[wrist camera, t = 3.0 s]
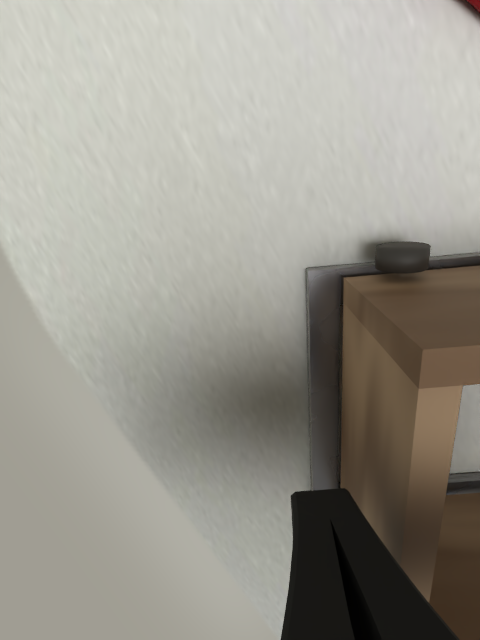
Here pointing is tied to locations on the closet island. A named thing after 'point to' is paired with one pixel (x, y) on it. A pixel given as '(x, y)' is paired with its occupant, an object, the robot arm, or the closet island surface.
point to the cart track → (324, 366)
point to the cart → (414, 420)
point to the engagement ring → (475, 4)
